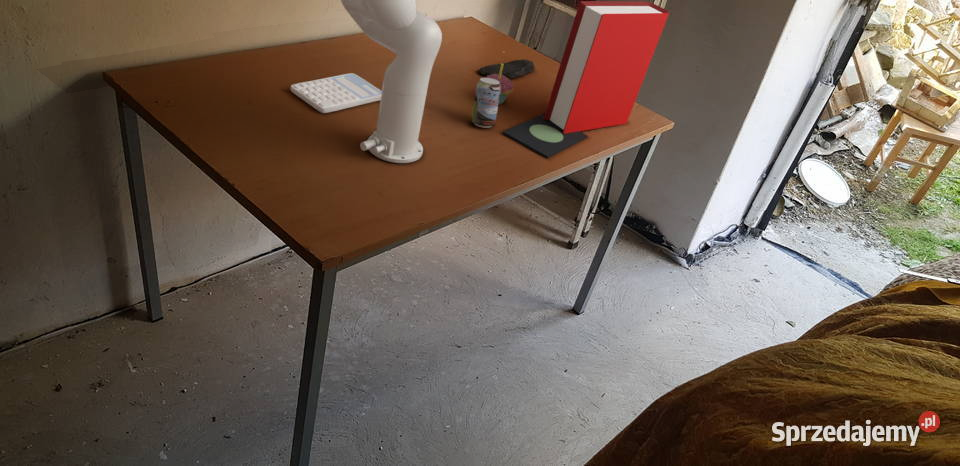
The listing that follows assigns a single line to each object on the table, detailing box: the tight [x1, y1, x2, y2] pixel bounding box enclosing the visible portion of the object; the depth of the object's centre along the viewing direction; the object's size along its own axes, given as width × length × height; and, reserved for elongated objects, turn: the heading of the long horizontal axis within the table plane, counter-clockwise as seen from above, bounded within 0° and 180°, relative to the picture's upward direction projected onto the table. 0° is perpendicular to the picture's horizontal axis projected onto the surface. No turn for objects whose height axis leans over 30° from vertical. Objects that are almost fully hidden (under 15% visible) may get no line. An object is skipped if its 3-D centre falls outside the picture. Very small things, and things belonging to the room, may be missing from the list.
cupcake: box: [484, 61, 514, 105], centre depth 189 cm, size 9×8×12 cm
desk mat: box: [501, 113, 588, 159], centre depth 181 cm, size 20×14×1 cm
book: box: [543, 0, 670, 134], centre depth 185 cm, size 27×8×32 cm, turn 128°
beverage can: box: [471, 77, 501, 129], centre depth 175 cm, size 6×7×12 cm
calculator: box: [289, 72, 382, 114], centre depth 174 cm, size 13×20×2 cm, turn 138°
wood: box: [477, 59, 535, 80], centre depth 209 cm, size 22×7×3 cm, turn 133°
